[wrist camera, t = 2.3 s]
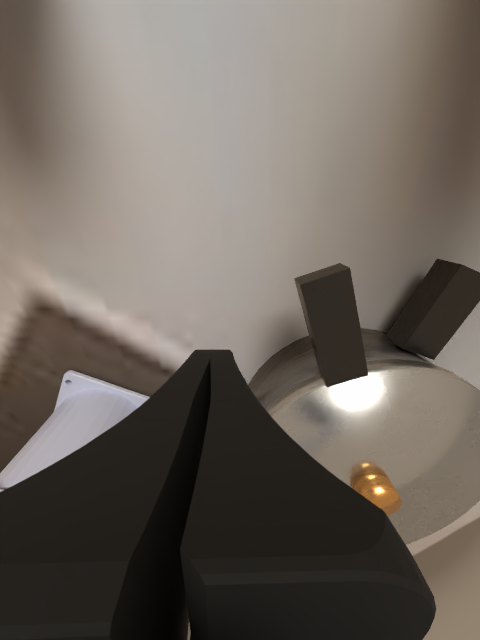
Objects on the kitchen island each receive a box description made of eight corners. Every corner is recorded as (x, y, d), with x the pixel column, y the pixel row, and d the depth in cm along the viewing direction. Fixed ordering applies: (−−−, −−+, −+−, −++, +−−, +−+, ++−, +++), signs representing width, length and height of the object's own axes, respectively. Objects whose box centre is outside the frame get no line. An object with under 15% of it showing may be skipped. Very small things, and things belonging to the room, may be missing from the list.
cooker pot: (365, 492, 29) (390, 546, 24) (214, 455, 26) (210, 509, 21) (527, 301, 20) (615, 329, 15) (329, 214, 17) (365, 216, 13)
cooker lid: (485, 509, 22) (520, 549, 19) (275, 556, 24) (281, 598, 21) (505, 207, 12) (577, 206, 10) (153, 325, 14) (136, 351, 12)
